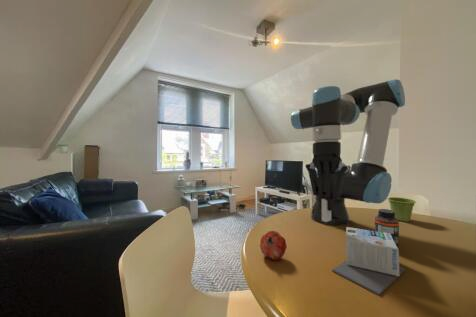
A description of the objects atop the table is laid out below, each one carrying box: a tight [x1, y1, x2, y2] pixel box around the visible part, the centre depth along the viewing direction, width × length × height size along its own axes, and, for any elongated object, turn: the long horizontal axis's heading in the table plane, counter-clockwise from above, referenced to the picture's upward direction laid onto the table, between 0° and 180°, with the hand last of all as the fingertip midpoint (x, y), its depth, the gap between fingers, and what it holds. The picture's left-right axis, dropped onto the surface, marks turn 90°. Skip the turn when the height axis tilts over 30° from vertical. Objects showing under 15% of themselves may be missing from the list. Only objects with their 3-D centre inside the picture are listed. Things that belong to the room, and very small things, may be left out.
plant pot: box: [387, 196, 417, 223], centre depth 84 cm, size 9×9×9 cm
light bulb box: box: [345, 226, 400, 277], centre depth 51 cm, size 11×7×11 cm
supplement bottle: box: [374, 208, 400, 249], centre depth 60 cm, size 6×6×11 cm
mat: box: [331, 260, 405, 296], centre depth 48 cm, size 10×15×1 cm, turn 124°
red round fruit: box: [259, 230, 287, 261], centre depth 55 cm, size 7×7×10 cm
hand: (326, 220), depth 58 cm, fingers closed
